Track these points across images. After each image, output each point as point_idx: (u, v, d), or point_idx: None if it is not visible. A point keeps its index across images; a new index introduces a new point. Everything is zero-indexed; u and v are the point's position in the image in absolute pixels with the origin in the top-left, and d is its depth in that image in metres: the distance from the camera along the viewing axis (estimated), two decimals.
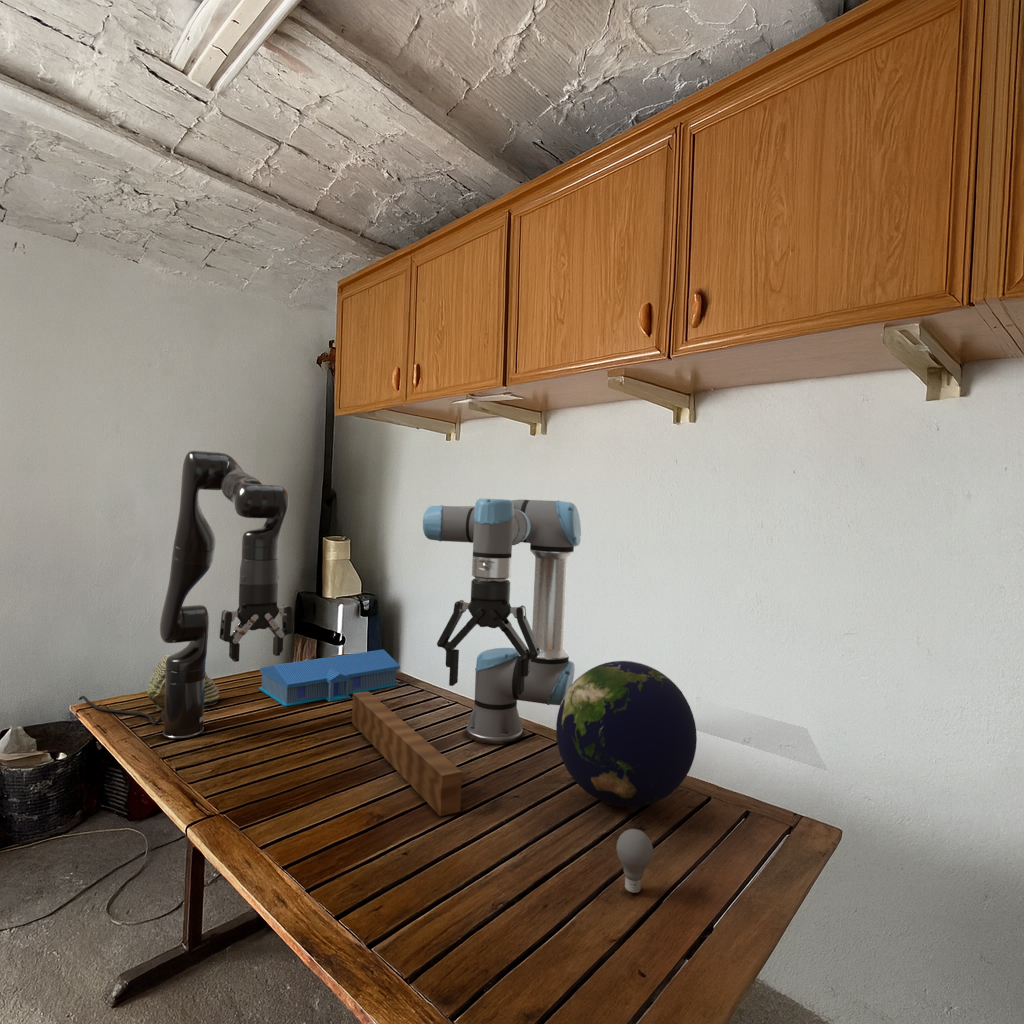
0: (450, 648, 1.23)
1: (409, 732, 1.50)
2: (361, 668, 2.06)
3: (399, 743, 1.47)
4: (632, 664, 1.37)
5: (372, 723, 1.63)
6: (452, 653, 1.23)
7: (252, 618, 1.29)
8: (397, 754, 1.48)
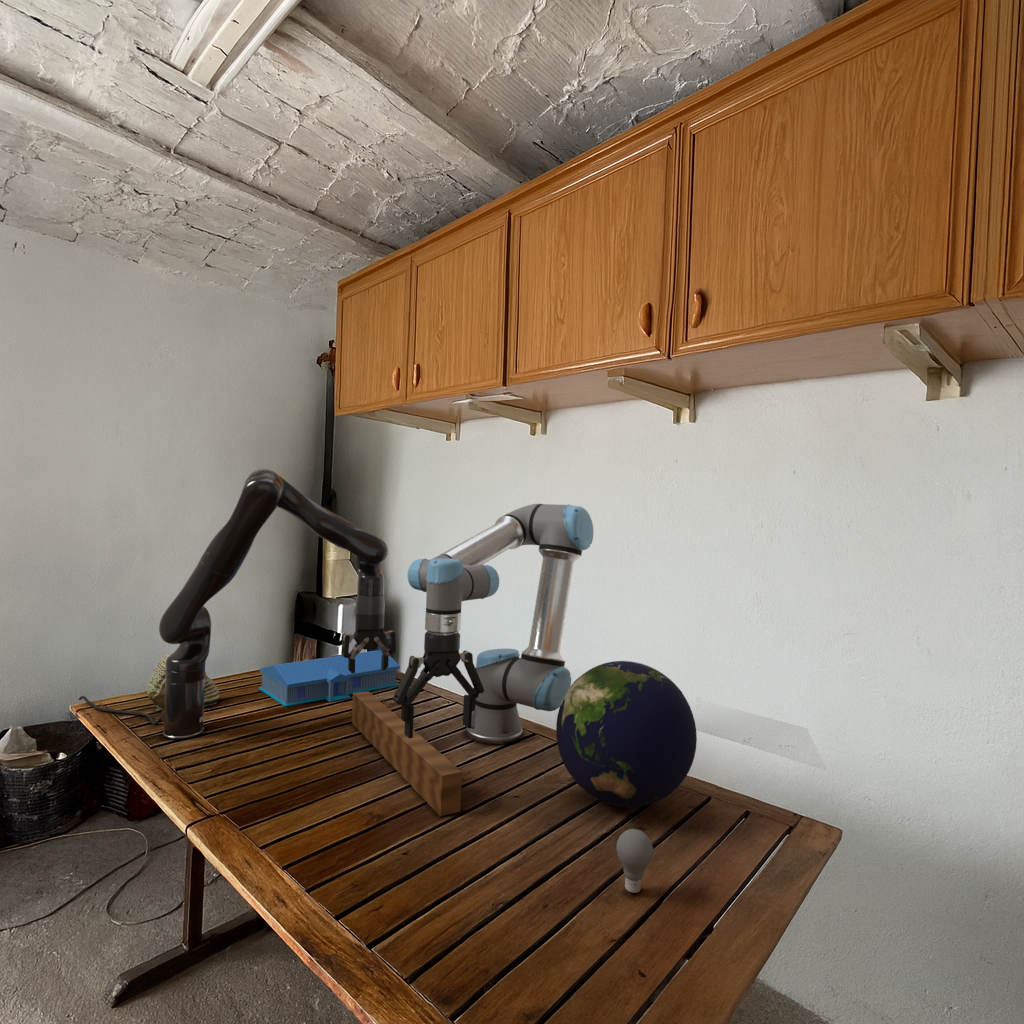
0: (410, 703, 1.30)
1: None
2: (361, 668, 2.06)
3: (399, 743, 1.47)
4: (632, 664, 1.37)
5: (372, 723, 1.63)
6: (412, 707, 1.30)
7: None
8: (397, 754, 1.48)
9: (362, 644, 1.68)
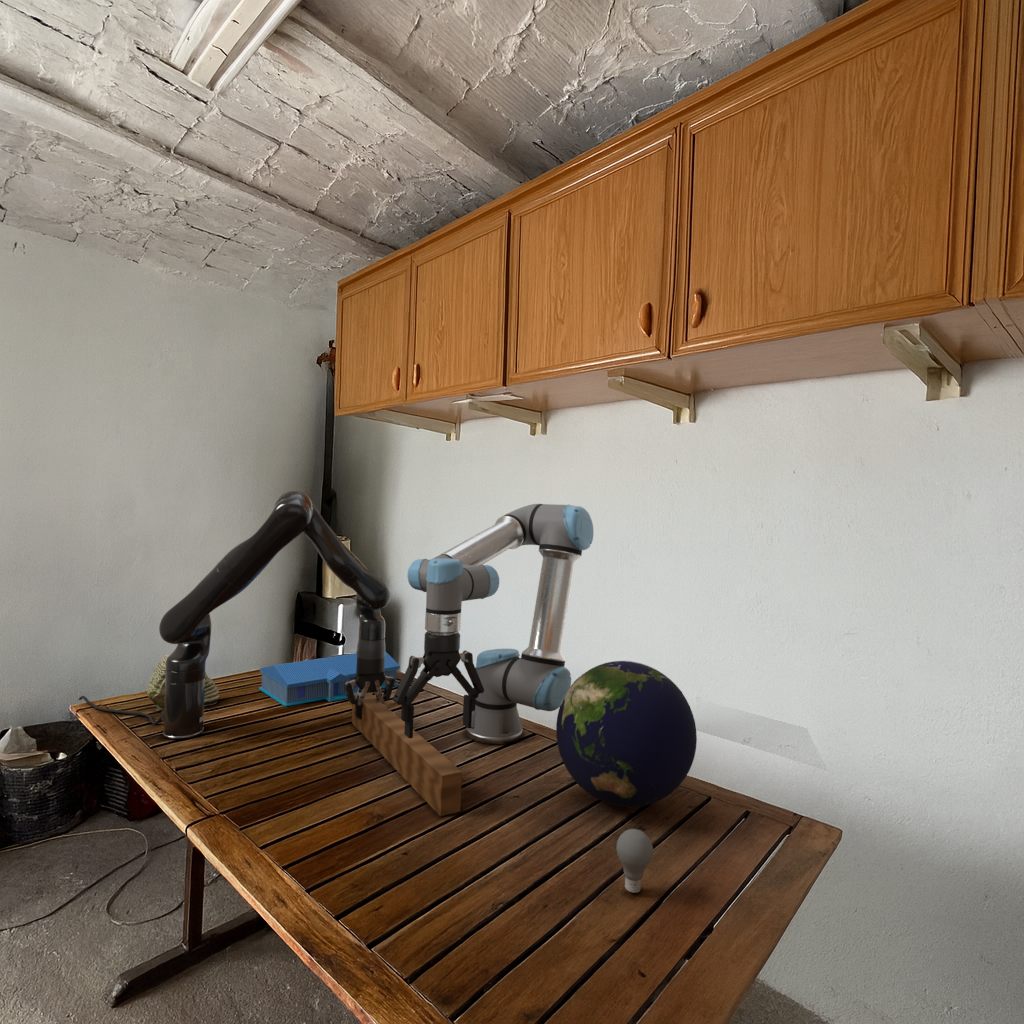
0: (410, 703, 1.30)
1: None
2: None
3: (399, 743, 1.47)
4: (632, 664, 1.37)
5: (372, 723, 1.63)
6: (412, 707, 1.30)
7: None
8: (397, 754, 1.48)
9: (365, 689, 1.70)
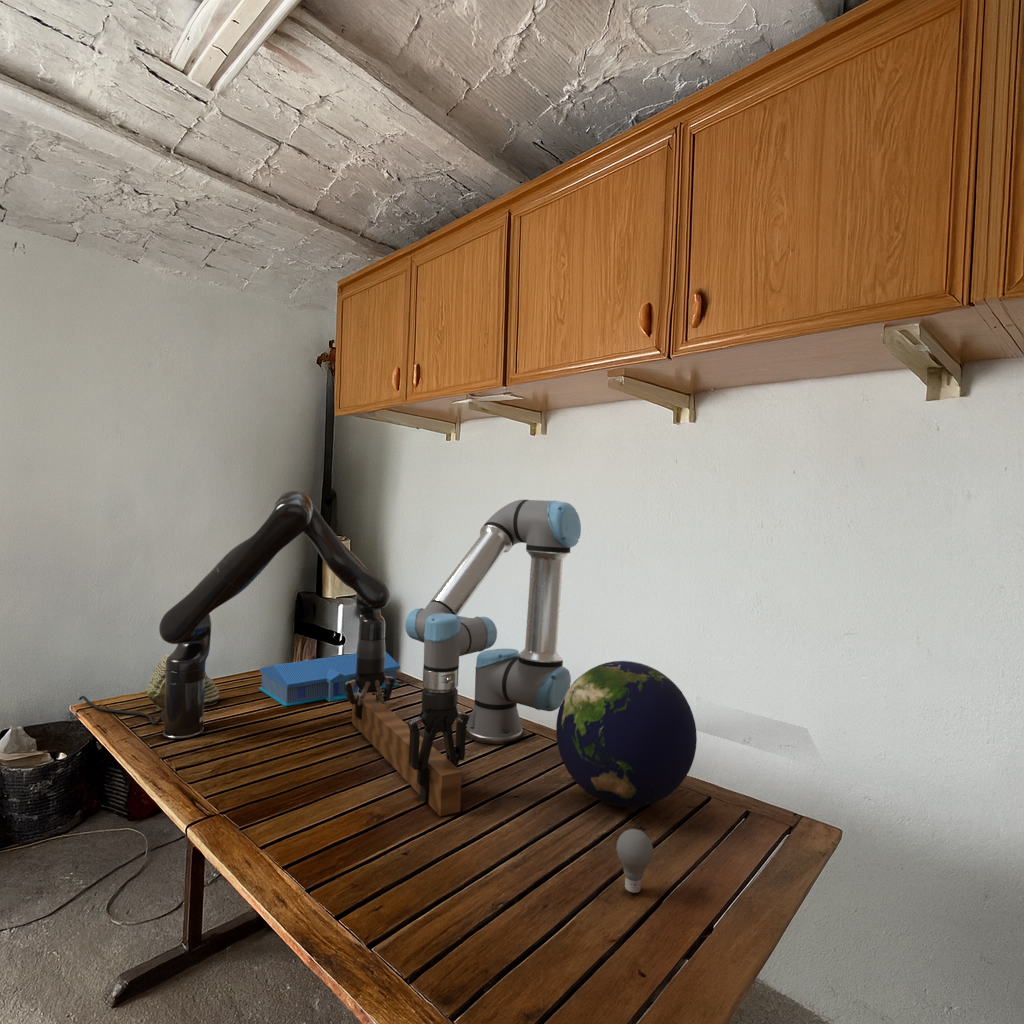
0: (425, 766, 1.32)
1: (408, 732, 1.50)
2: None
3: (399, 743, 1.47)
4: (632, 664, 1.37)
5: (372, 723, 1.63)
6: (428, 771, 1.32)
7: None
8: (397, 754, 1.48)
9: (365, 689, 1.70)
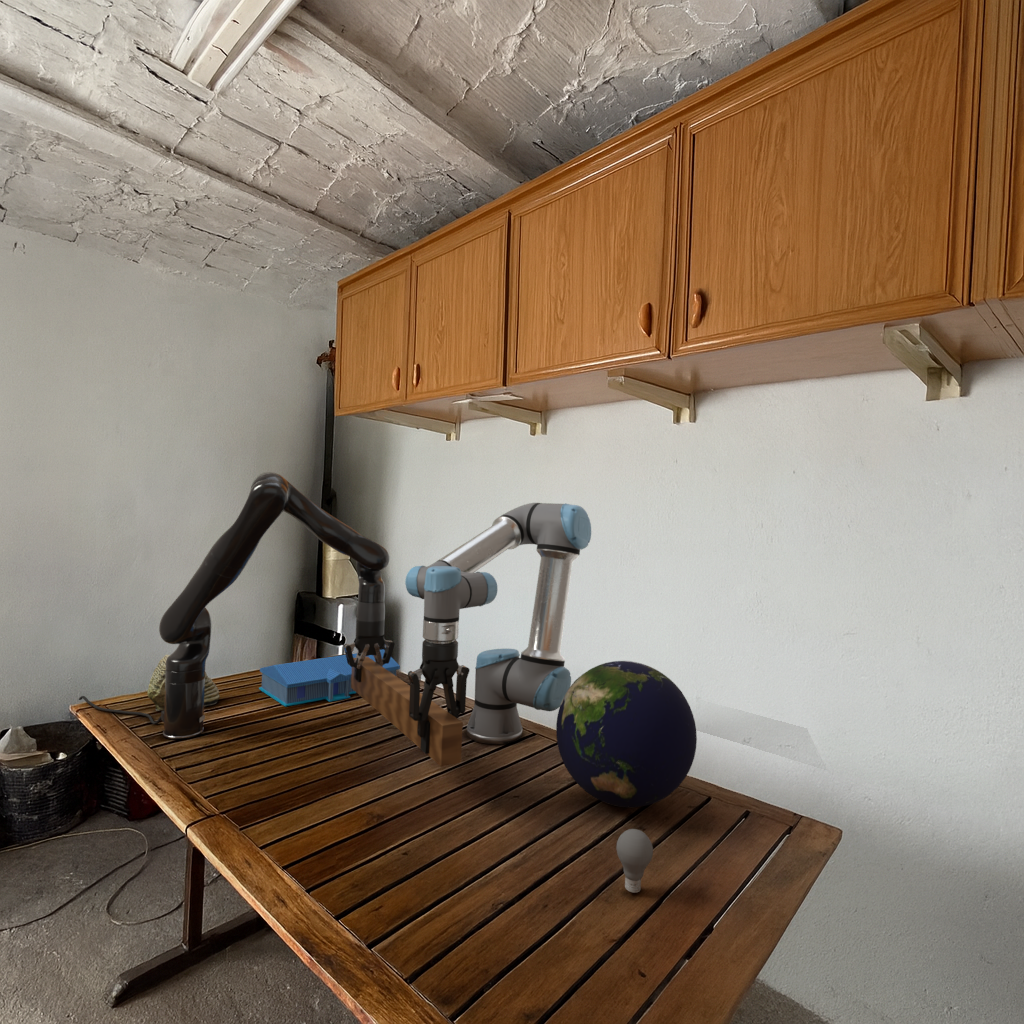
0: (426, 718, 1.32)
1: (408, 690, 1.49)
2: None
3: (399, 700, 1.46)
4: (632, 664, 1.37)
5: (371, 685, 1.63)
6: (428, 723, 1.32)
7: None
8: (397, 711, 1.47)
9: (364, 651, 1.69)
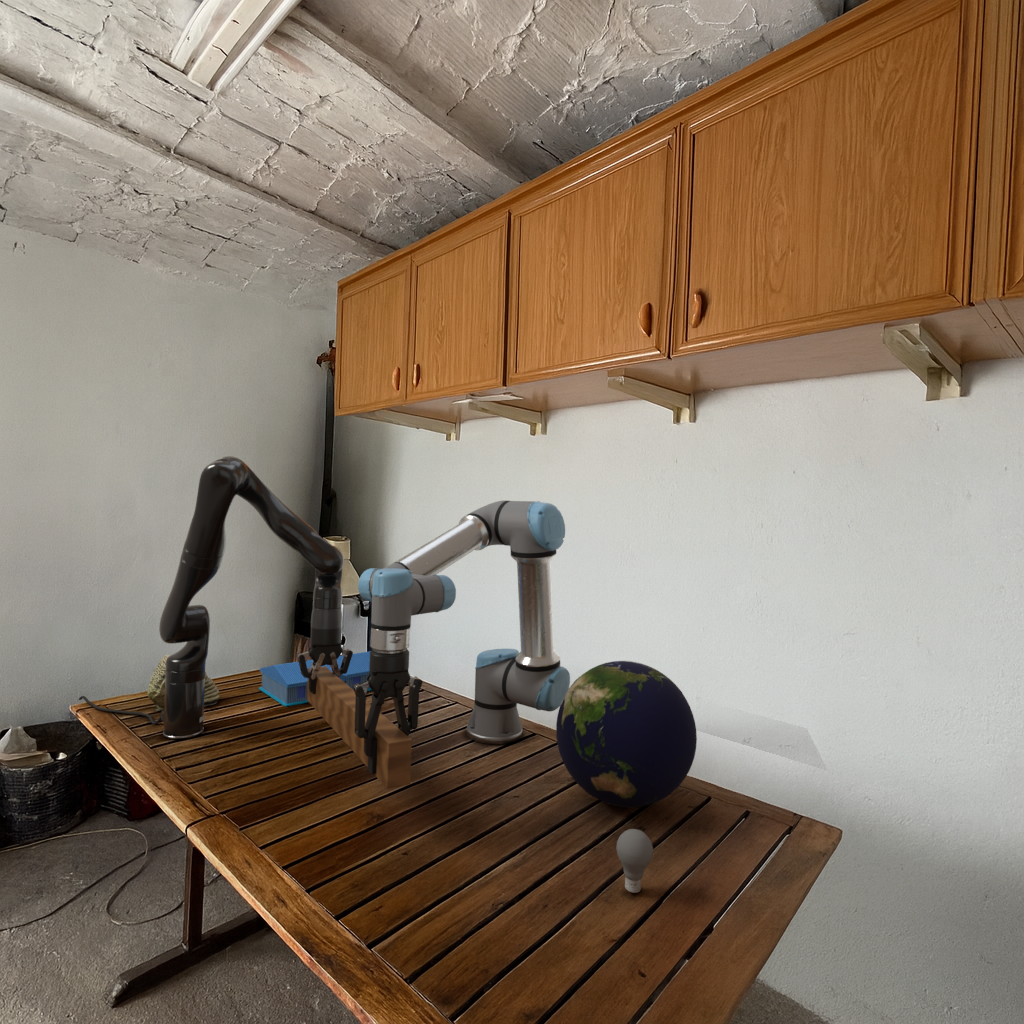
0: (372, 735, 1.20)
1: None
2: (361, 668, 2.06)
3: (349, 714, 1.35)
4: (632, 664, 1.37)
5: (324, 697, 1.51)
6: (375, 740, 1.20)
7: None
8: (347, 726, 1.36)
9: (319, 661, 1.58)
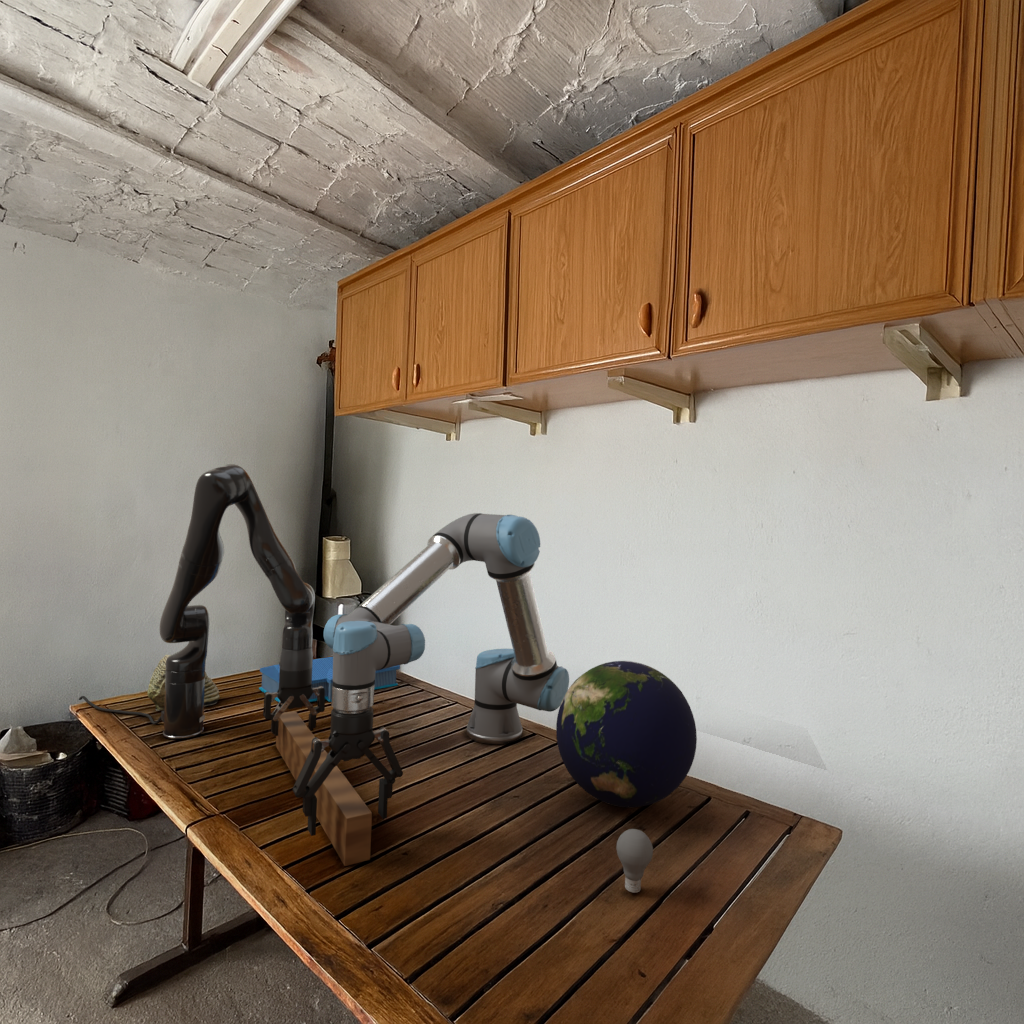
0: (312, 795, 1.11)
1: None
2: None
3: (312, 774, 1.29)
4: (632, 664, 1.37)
5: (291, 749, 1.45)
6: (315, 799, 1.11)
7: None
8: None
9: (286, 703, 1.51)
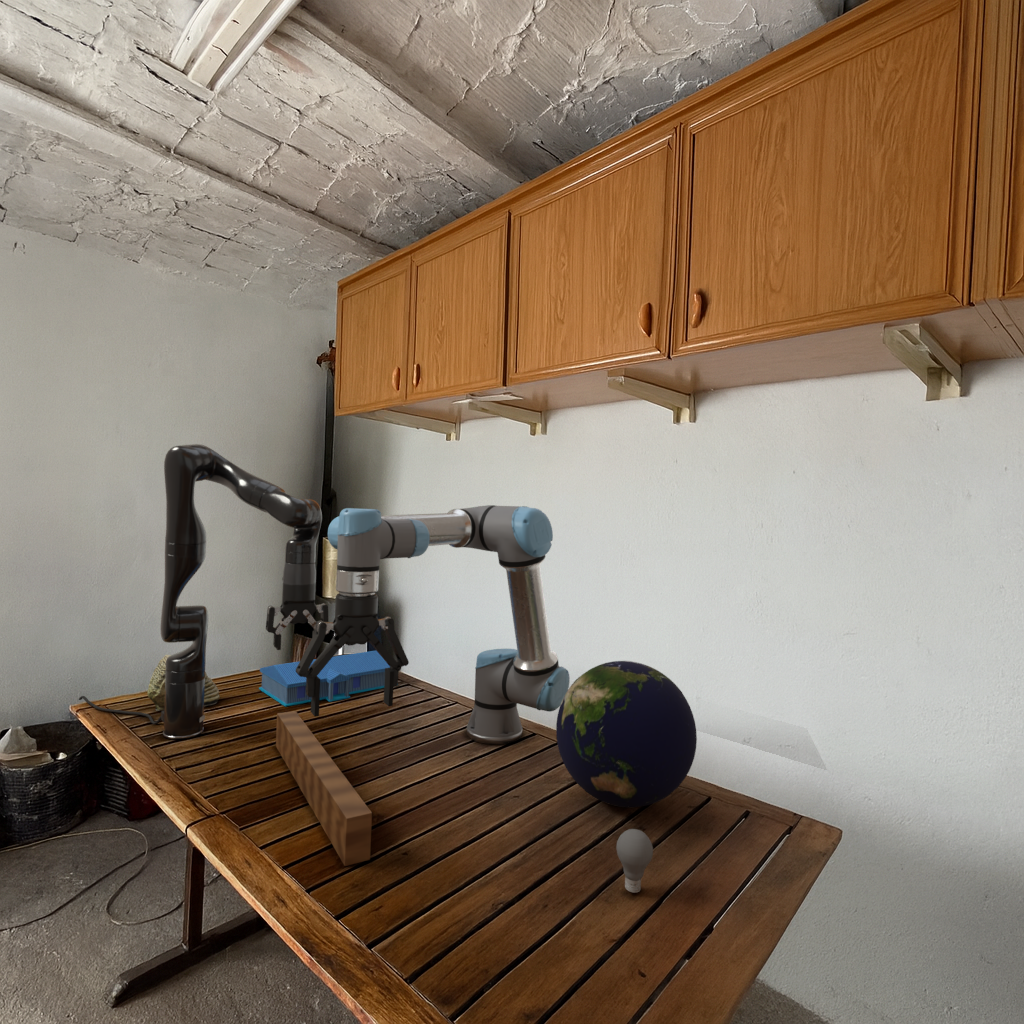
0: (315, 675, 1.11)
1: (325, 762, 1.31)
2: (361, 668, 2.06)
3: (312, 774, 1.29)
4: (632, 664, 1.37)
5: (291, 749, 1.45)
6: (318, 680, 1.11)
7: None
8: (310, 787, 1.30)
9: (289, 617, 1.50)
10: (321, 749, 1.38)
